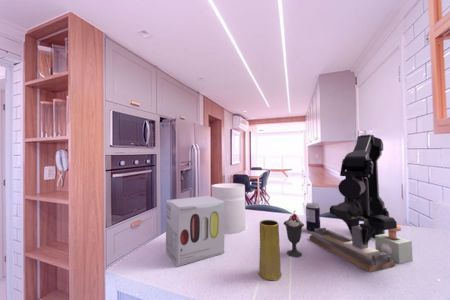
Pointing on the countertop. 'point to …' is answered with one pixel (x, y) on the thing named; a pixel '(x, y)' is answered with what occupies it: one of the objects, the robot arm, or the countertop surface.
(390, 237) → the button
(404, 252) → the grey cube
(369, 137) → the robot arm
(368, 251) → the carriage
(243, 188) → the canister
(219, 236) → the supplement box
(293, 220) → the sundae
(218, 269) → the countertop surface
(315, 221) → the beverage can
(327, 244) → the rail
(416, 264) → the countertop surface
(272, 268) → the vase
